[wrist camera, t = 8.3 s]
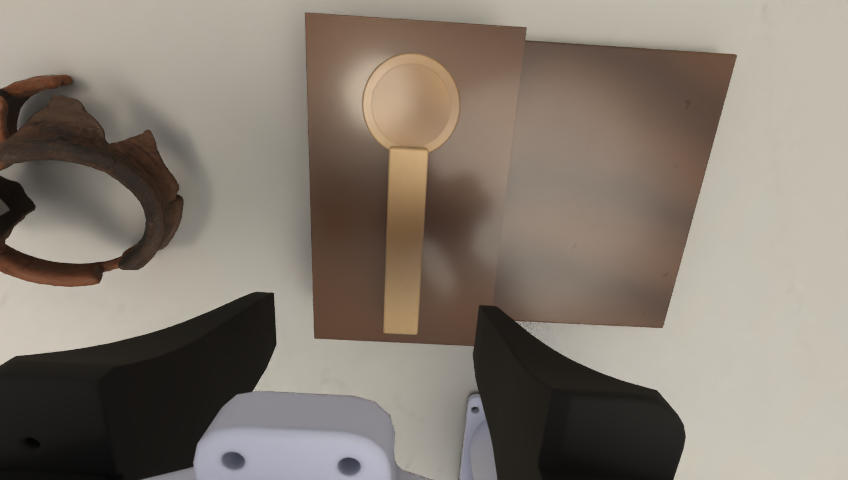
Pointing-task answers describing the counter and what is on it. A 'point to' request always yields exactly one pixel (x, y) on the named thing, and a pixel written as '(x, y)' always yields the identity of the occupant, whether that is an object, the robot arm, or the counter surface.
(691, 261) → the counter surface
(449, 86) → the spoon
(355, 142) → the step shelf
